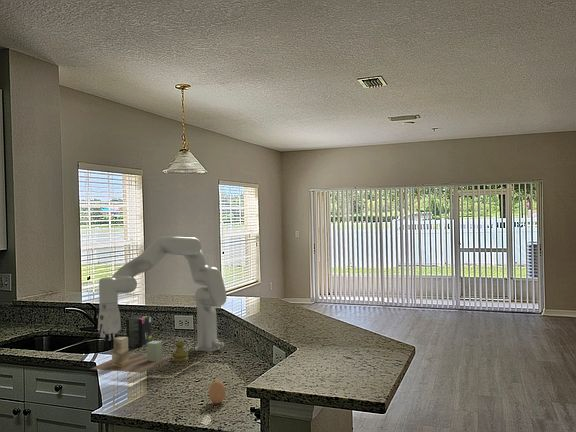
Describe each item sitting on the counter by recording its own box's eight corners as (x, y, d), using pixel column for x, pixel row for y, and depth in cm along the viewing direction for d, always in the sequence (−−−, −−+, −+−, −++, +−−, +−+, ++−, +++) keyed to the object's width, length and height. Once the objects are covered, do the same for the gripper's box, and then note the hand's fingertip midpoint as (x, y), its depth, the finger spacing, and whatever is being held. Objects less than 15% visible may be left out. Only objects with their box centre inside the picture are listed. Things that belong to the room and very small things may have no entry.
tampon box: (142, 348, 273) (142, 319, 273) (126, 347, 275) (125, 319, 275) (152, 343, 284) (151, 315, 284) (136, 342, 285) (135, 315, 285)
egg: (226, 400, 192) (226, 377, 192) (225, 405, 186) (224, 383, 186) (209, 400, 191) (209, 378, 192) (207, 406, 185) (207, 383, 186)
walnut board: (175, 358, 251) (175, 356, 251) (142, 375, 224) (142, 372, 224) (127, 355, 258) (127, 352, 258) (89, 371, 231) (89, 368, 231)
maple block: (128, 364, 238) (128, 337, 238) (121, 367, 233) (121, 339, 233) (118, 363, 239) (118, 336, 239) (112, 366, 235) (111, 339, 235)
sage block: (162, 358, 246) (162, 341, 246) (156, 361, 242) (156, 343, 242) (152, 357, 248) (152, 340, 248) (147, 360, 243) (146, 343, 243)
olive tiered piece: (184, 365, 239) (184, 343, 239) (169, 364, 240) (169, 342, 240) (191, 361, 246) (190, 339, 246) (176, 360, 247) (175, 338, 248)
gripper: (105, 309, 221) (106, 354, 221) (126, 303, 235) (127, 345, 235) (90, 309, 223) (90, 353, 223) (111, 303, 237) (112, 344, 237)
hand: (109, 349), depth 229 cm, fingers closed
